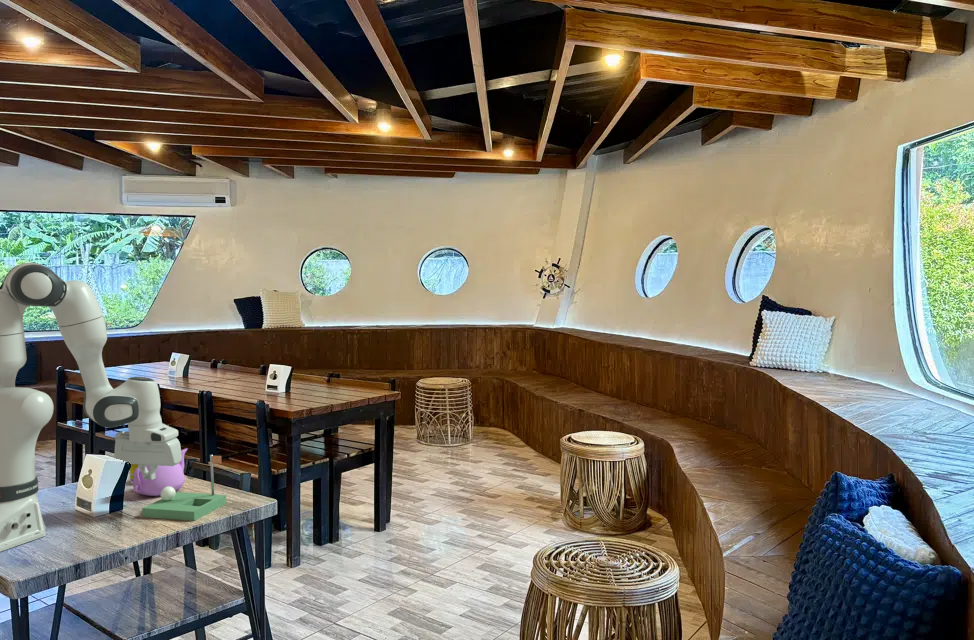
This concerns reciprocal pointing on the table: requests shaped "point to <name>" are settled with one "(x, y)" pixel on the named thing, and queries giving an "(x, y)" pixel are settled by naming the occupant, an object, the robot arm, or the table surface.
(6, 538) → the robot arm
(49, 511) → the table surface
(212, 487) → the flag pin
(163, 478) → the teapot
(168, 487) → the ball
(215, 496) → the mat
